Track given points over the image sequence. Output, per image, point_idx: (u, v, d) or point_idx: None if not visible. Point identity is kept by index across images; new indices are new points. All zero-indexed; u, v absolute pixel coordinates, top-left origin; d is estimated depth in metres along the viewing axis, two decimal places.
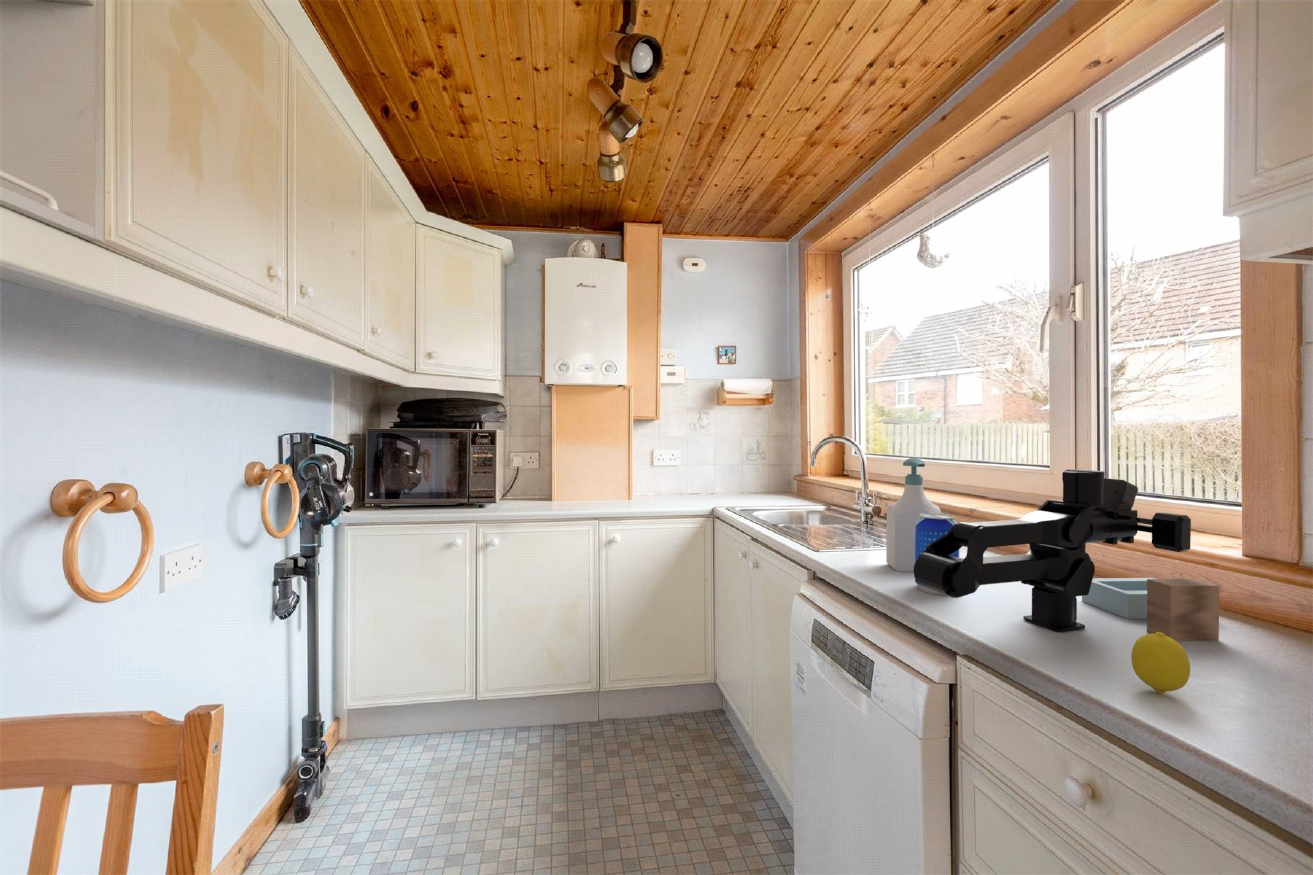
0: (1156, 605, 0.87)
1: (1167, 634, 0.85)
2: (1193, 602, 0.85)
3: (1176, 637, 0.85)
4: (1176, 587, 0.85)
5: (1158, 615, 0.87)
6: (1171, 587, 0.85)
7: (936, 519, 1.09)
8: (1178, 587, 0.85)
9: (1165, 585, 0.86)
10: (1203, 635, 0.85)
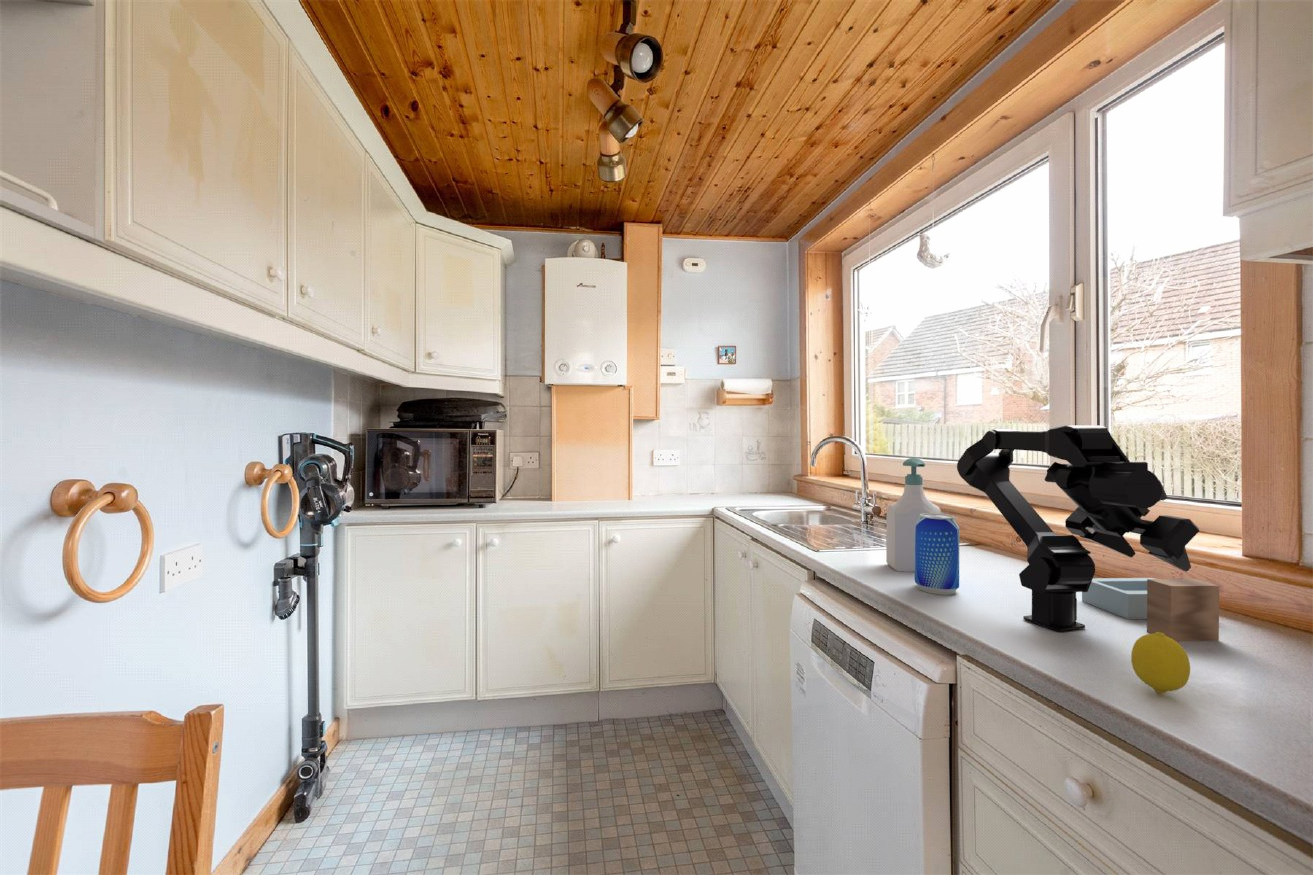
0: (1156, 605, 0.87)
1: (1167, 634, 0.85)
2: (1193, 602, 0.85)
3: (1176, 637, 0.85)
4: (1176, 587, 0.85)
5: (1158, 615, 0.87)
6: (1171, 587, 0.85)
7: (936, 519, 1.09)
8: (1178, 587, 0.85)
9: (1165, 585, 0.86)
10: (1203, 635, 0.85)
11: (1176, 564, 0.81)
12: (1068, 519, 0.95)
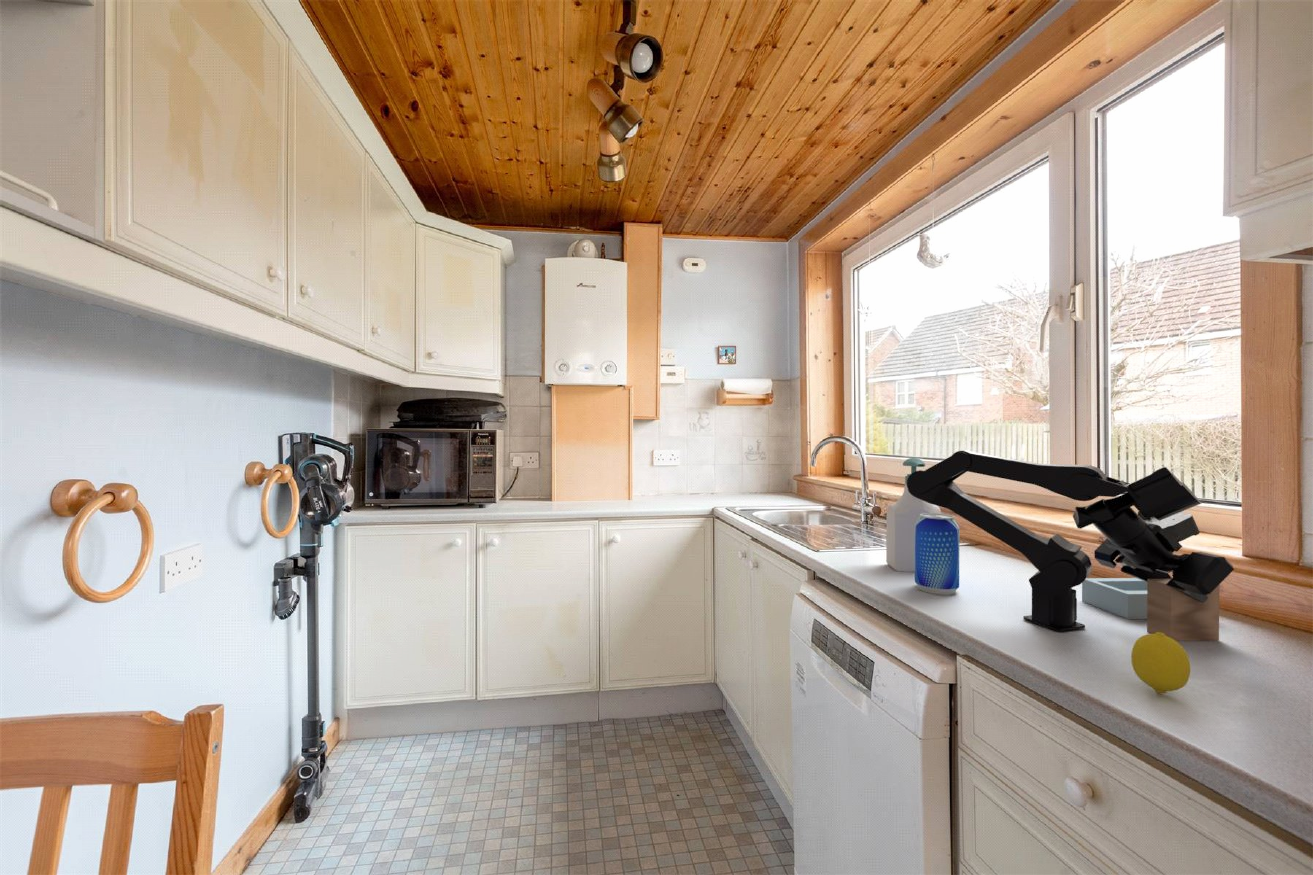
0: (1156, 604, 0.87)
1: (1167, 634, 0.85)
2: (1193, 602, 0.85)
3: (1176, 637, 0.85)
4: None
5: (1158, 615, 0.87)
6: None
7: (936, 519, 1.09)
8: None
9: (1165, 585, 0.86)
10: (1203, 635, 0.85)
11: (1193, 595, 0.84)
12: (1097, 550, 0.95)
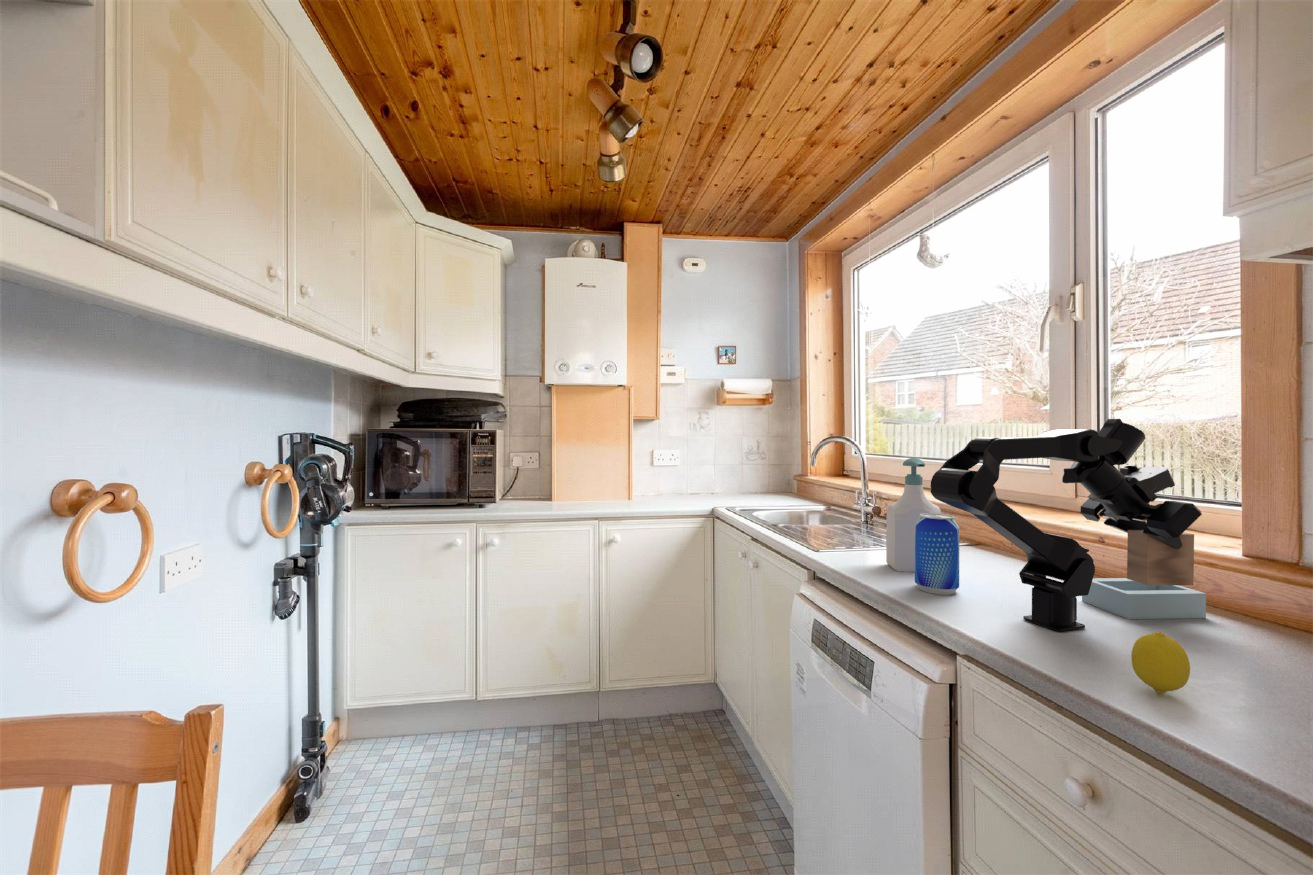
0: (1135, 552, 0.95)
1: (1144, 579, 0.93)
2: (1169, 549, 0.92)
3: (1152, 581, 0.92)
4: None
5: (1136, 562, 0.94)
6: None
7: (936, 519, 1.09)
8: None
9: (1143, 534, 0.93)
10: (1178, 580, 0.92)
11: (1168, 542, 0.91)
12: (1083, 506, 1.02)
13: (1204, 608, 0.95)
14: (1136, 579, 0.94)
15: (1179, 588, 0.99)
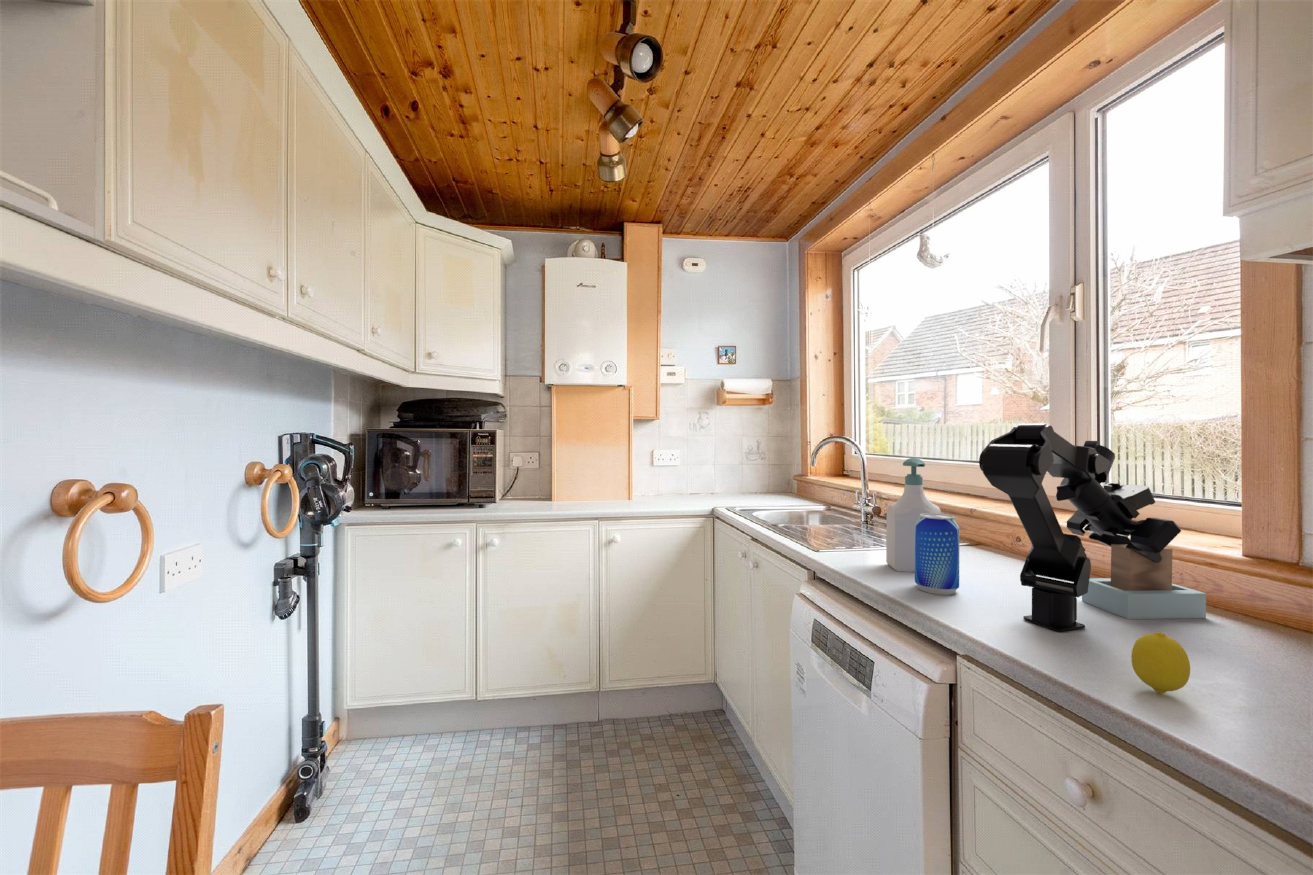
0: (1118, 566, 1.00)
1: (1127, 590, 0.98)
2: (1150, 563, 0.98)
3: None
4: None
5: (1120, 575, 1.00)
6: None
7: (936, 519, 1.09)
8: None
9: (1126, 548, 0.99)
10: None
11: (1149, 556, 0.96)
12: (1069, 520, 1.08)
13: (1204, 608, 0.95)
14: None
15: (1179, 588, 0.99)
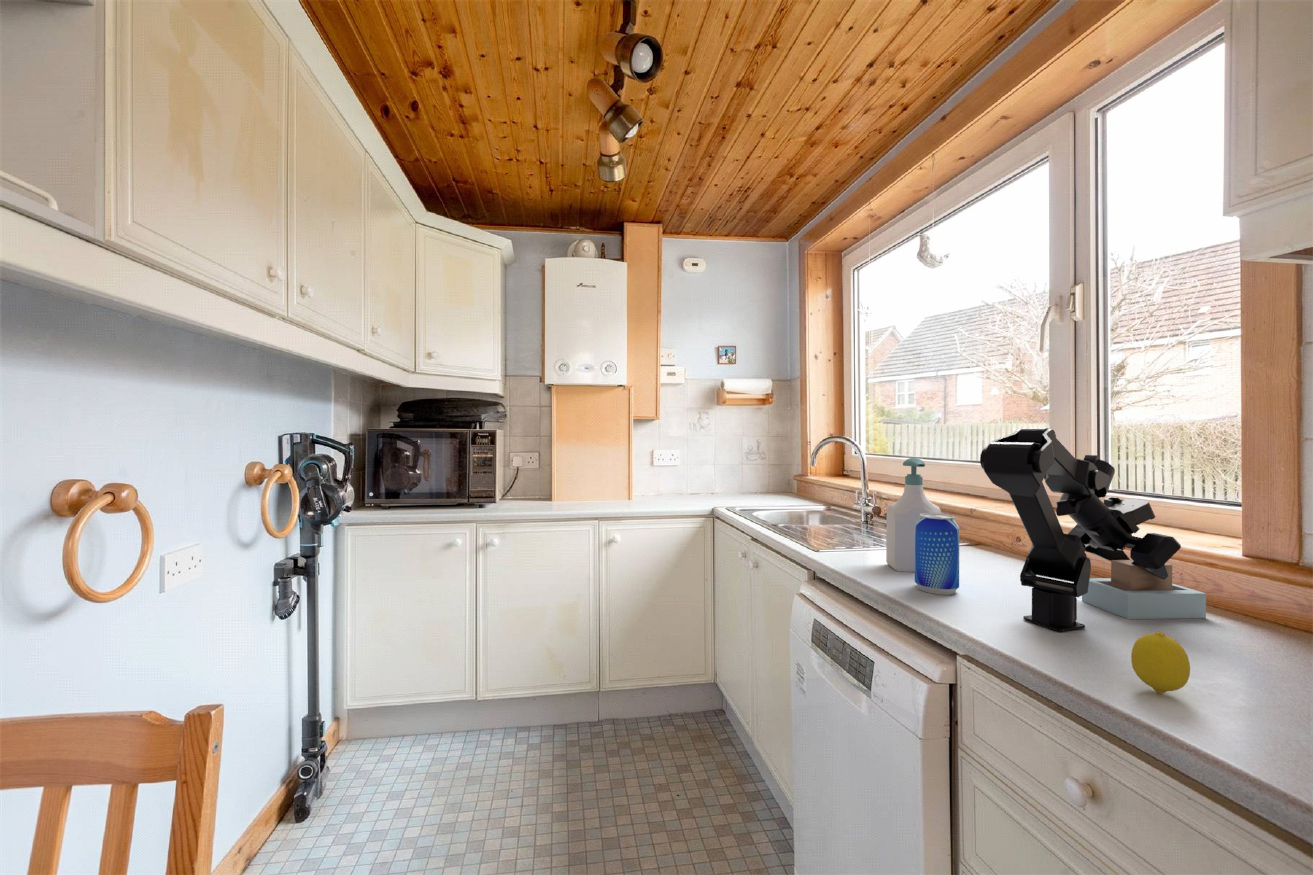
0: (1118, 582, 1.00)
1: None
2: (1150, 579, 0.98)
3: None
4: (1135, 566, 0.98)
5: None
6: (1130, 566, 0.98)
7: (936, 519, 1.09)
8: None
9: (1125, 564, 0.99)
10: None
11: (1155, 573, 0.95)
12: (1069, 534, 1.08)
13: (1204, 608, 0.95)
14: None
15: (1179, 588, 0.99)
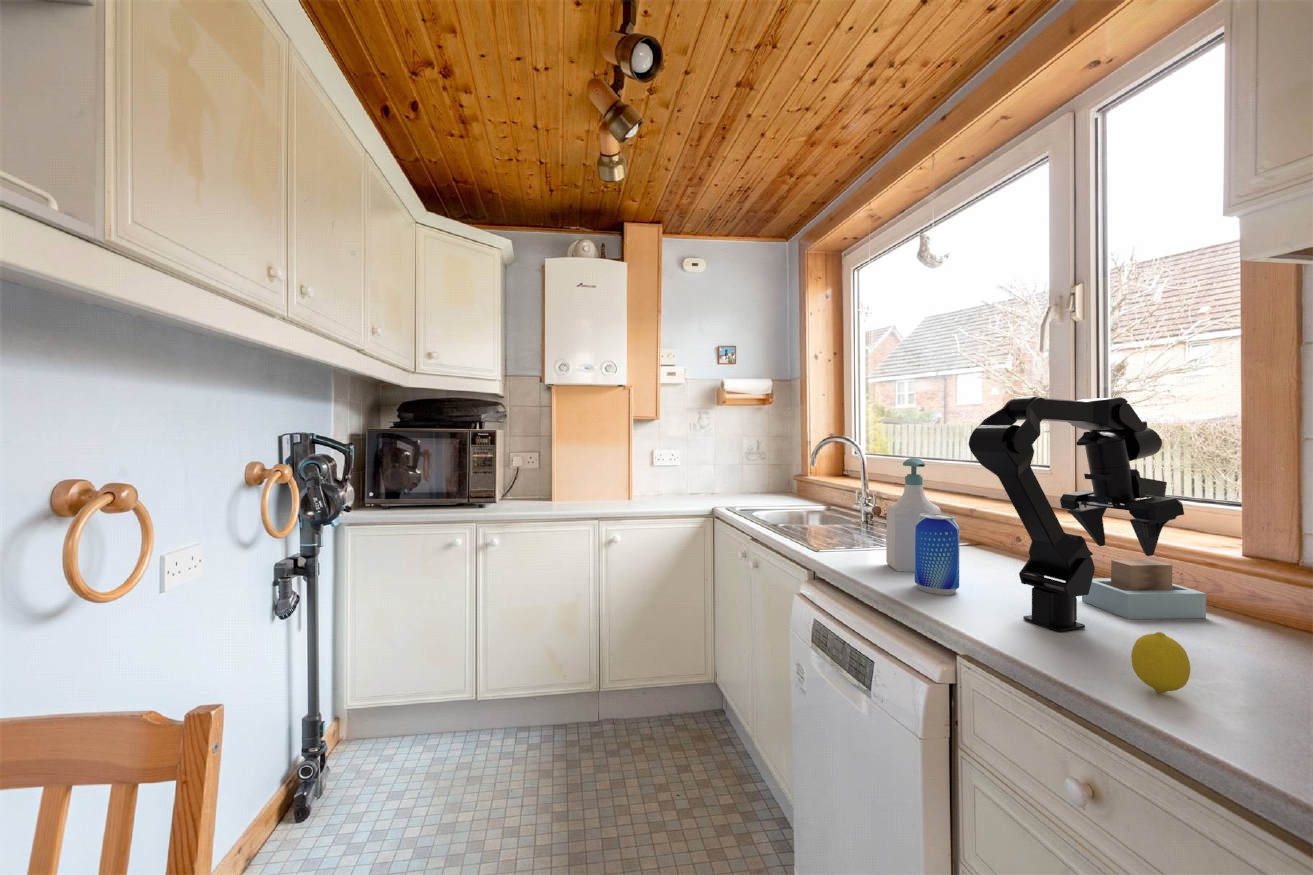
0: (1118, 582, 1.00)
1: None
2: (1150, 579, 0.98)
3: None
4: (1135, 566, 0.98)
5: None
6: (1130, 566, 0.98)
7: (936, 519, 1.09)
8: (1136, 566, 0.98)
9: (1125, 565, 0.99)
10: None
11: (1145, 541, 0.90)
12: (1066, 494, 1.04)
13: (1204, 608, 0.95)
14: None
15: (1179, 588, 0.99)
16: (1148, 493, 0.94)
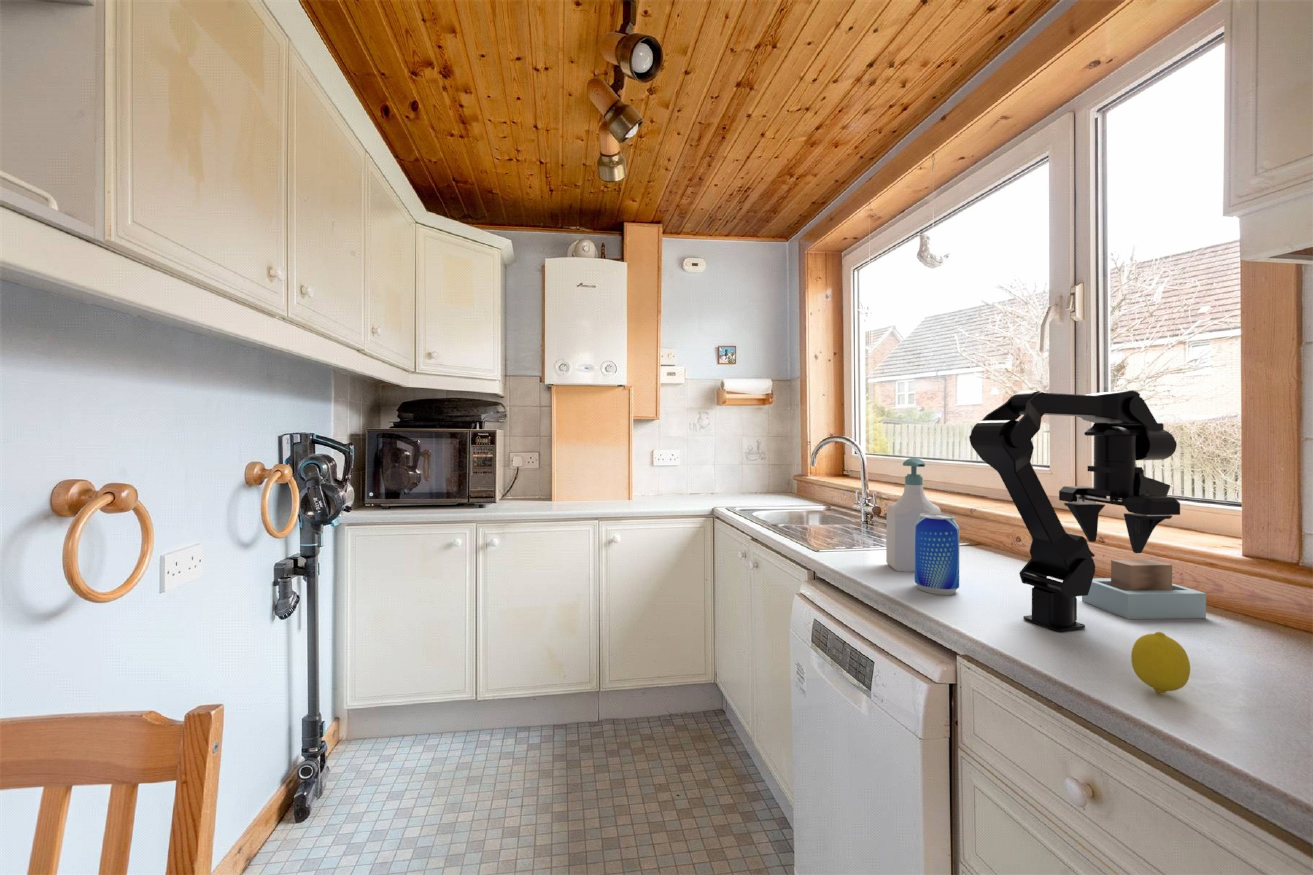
0: (1118, 582, 1.00)
1: None
2: (1150, 579, 0.98)
3: None
4: (1135, 566, 0.98)
5: None
6: (1130, 566, 0.98)
7: (936, 519, 1.09)
8: (1136, 566, 0.98)
9: (1125, 565, 0.99)
10: None
11: (1135, 537, 0.89)
12: (1066, 486, 1.03)
13: (1204, 608, 0.95)
14: None
15: (1179, 588, 0.99)
16: (1149, 493, 0.92)
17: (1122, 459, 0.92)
